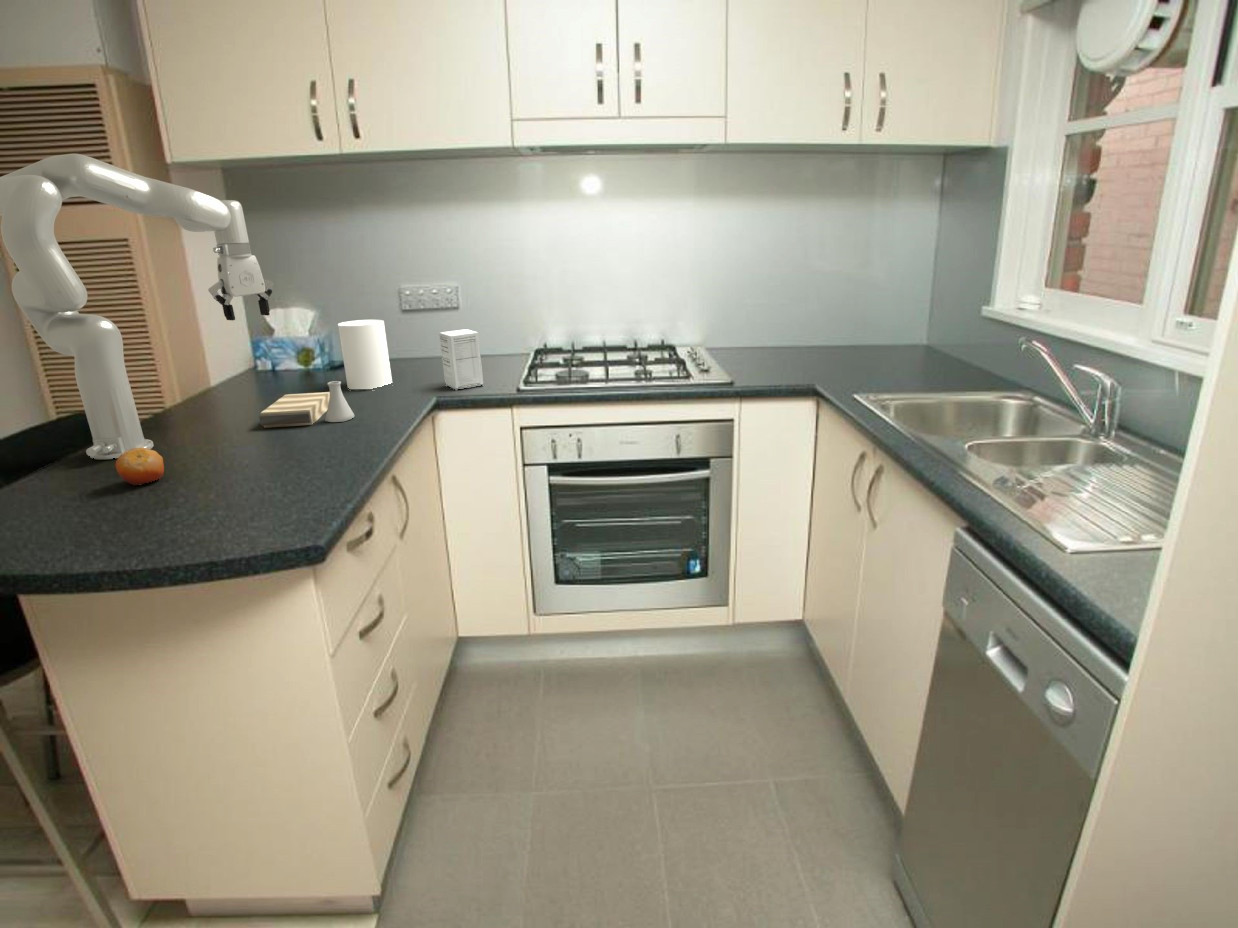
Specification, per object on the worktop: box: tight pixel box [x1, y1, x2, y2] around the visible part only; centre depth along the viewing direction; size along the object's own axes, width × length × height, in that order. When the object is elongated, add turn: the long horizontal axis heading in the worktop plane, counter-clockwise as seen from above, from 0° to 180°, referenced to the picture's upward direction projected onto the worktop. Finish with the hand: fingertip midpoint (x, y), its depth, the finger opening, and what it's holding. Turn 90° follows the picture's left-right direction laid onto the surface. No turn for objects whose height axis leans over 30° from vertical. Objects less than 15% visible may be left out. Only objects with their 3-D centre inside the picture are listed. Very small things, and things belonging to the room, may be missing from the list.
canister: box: [337, 319, 393, 390], centre depth 222 cm, size 14×14×20 cm
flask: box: [324, 380, 355, 423], centre depth 186 cm, size 7×7×10 cm
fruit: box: [115, 447, 165, 486], centre depth 144 cm, size 8×8×8 cm
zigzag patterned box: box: [258, 391, 330, 429], centre depth 191 cm, size 22×12×4 cm, turn 7°
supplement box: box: [438, 328, 484, 388], centre depth 218 cm, size 10×9×17 cm
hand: (248, 317), depth 190 cm, fingers open, 9 cm apart
